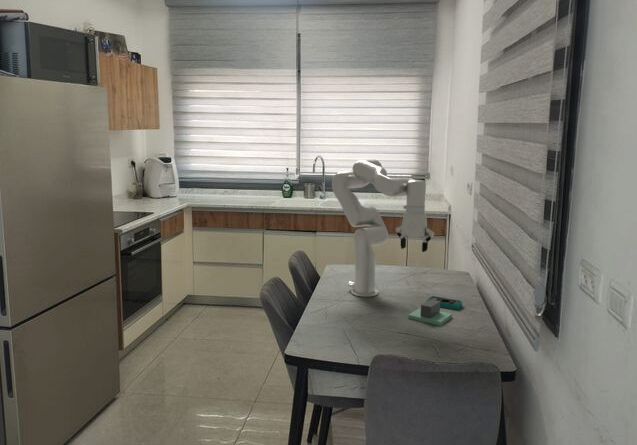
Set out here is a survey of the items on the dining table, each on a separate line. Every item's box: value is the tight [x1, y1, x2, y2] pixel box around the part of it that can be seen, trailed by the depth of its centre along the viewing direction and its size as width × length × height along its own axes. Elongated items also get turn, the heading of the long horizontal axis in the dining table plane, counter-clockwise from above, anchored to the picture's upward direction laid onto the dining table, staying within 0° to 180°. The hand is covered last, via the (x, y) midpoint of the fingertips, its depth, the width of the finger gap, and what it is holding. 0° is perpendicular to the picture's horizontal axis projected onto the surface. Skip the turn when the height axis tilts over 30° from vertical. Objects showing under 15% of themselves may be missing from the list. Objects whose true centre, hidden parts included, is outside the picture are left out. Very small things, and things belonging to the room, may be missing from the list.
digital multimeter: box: [425, 295, 463, 311], centre depth 241 cm, size 7×15×3 cm, turn 60°
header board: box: [407, 307, 453, 326], centre depth 224 cm, size 14×12×4 cm
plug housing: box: [420, 299, 441, 319], centre depth 224 cm, size 4×9×5 cm, turn 145°
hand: (413, 249), depth 230 cm, fingers open, 9 cm apart
